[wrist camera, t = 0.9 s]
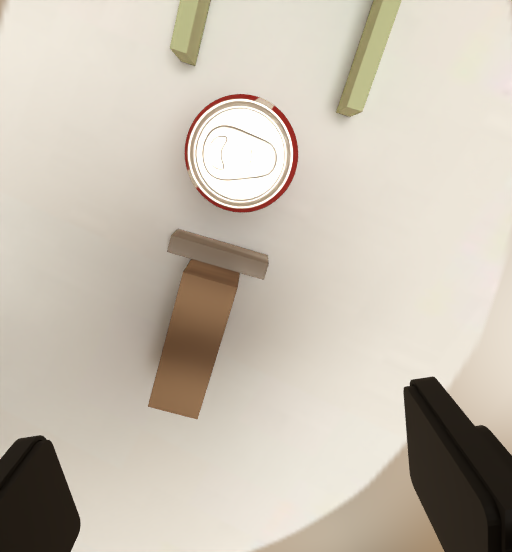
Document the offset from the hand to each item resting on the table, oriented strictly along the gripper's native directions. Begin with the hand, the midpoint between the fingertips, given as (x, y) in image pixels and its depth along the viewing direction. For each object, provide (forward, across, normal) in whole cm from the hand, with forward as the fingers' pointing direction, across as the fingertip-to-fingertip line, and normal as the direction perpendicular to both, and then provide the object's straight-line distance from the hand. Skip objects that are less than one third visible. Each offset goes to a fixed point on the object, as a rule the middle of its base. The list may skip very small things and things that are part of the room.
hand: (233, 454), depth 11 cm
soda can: (+22, -1, -7) cm, 23 cm away
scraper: (+21, +4, +4) cm, 22 cm away
